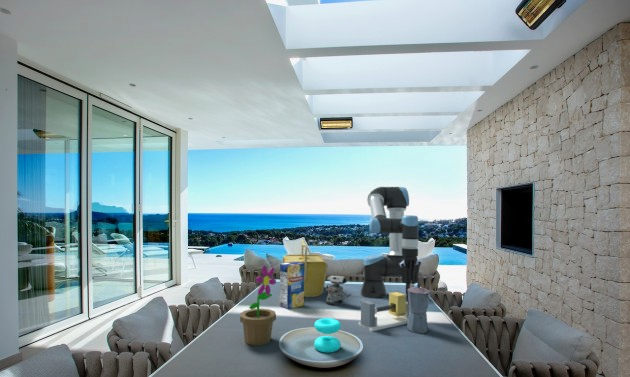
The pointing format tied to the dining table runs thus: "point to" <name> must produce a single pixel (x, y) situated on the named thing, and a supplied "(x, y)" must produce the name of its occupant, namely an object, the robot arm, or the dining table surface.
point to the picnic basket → (310, 271)
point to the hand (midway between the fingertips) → (409, 297)
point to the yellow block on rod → (397, 304)
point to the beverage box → (291, 285)
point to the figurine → (335, 289)
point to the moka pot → (417, 308)
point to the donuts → (327, 342)
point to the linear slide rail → (380, 323)
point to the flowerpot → (259, 314)
